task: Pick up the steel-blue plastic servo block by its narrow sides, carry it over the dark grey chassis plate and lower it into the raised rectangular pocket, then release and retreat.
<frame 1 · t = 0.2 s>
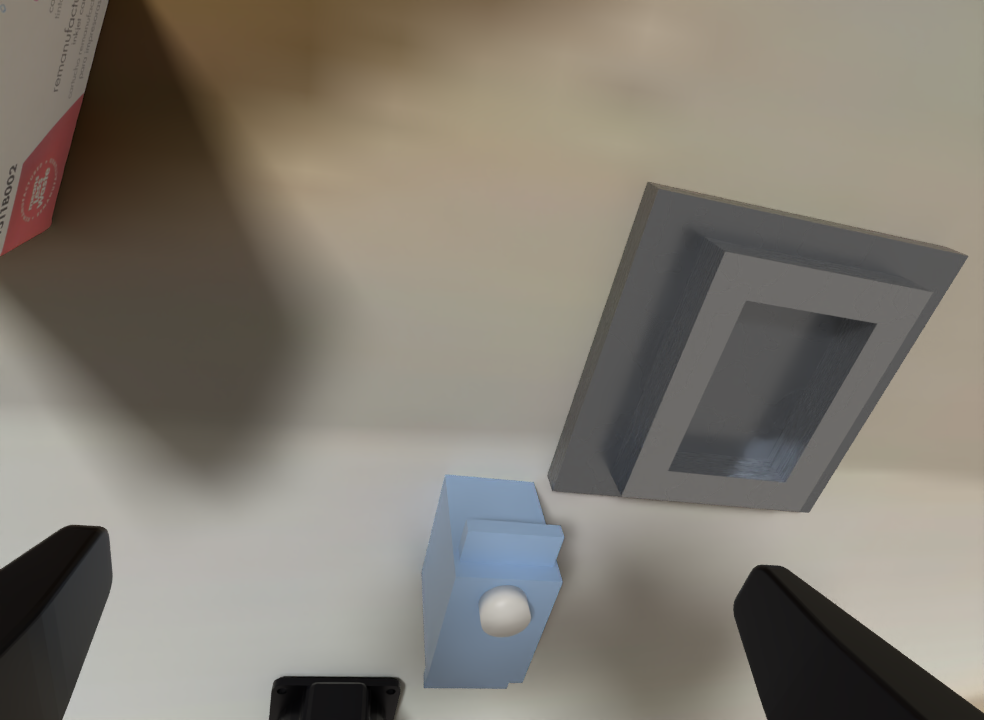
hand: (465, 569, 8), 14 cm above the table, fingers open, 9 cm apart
chassis: (735, 368, 25), on the table
servo: (475, 528, 27), on the table
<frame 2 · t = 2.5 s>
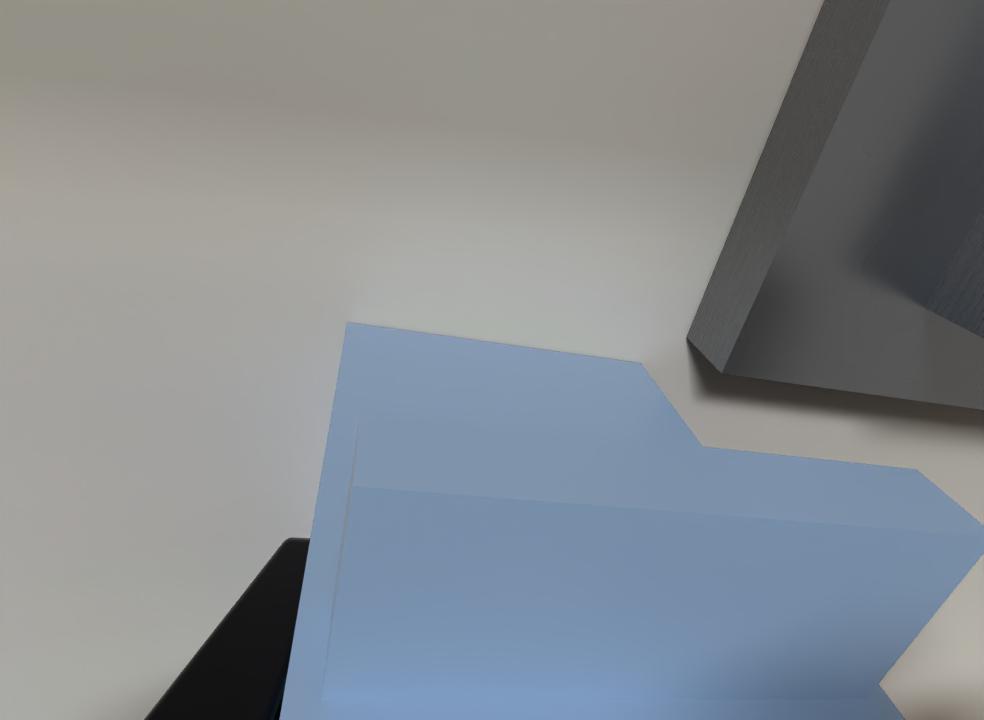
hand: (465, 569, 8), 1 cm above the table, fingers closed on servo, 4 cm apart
servo: (458, 516, 9), on the table, touching gripper
when the fingers open (3 cm above the table, at t = 6.5 s): servo drops 1 cm, resting on chassis.
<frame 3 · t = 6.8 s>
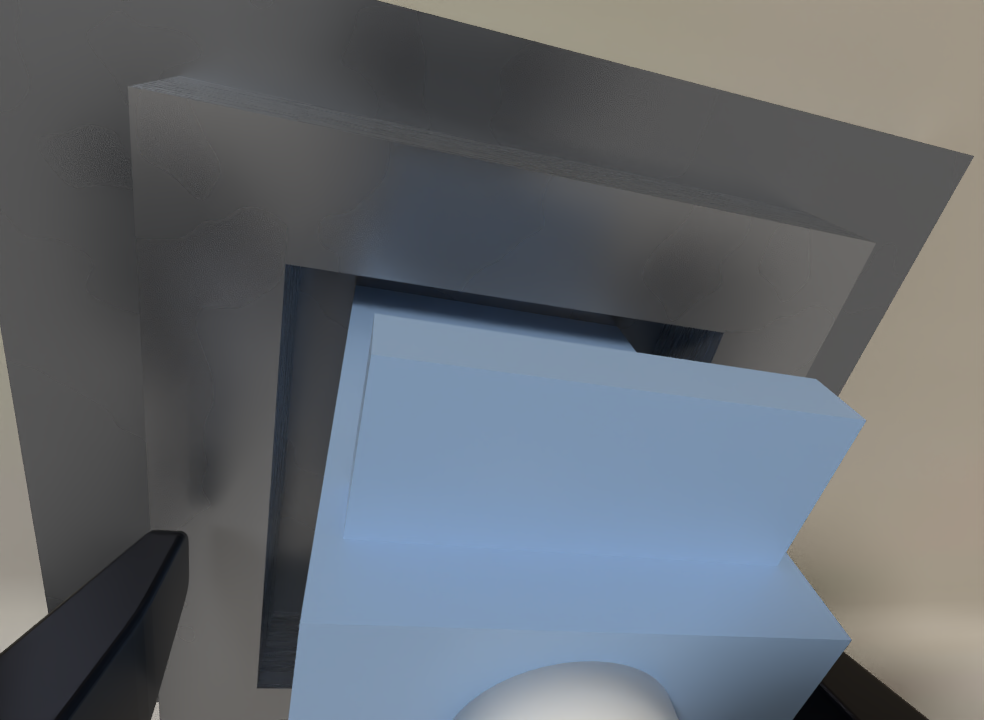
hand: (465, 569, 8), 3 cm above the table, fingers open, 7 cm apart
chassis: (449, 433, 11), on the table
servo: (453, 466, 10), point 1 cm above the table, touching chassis
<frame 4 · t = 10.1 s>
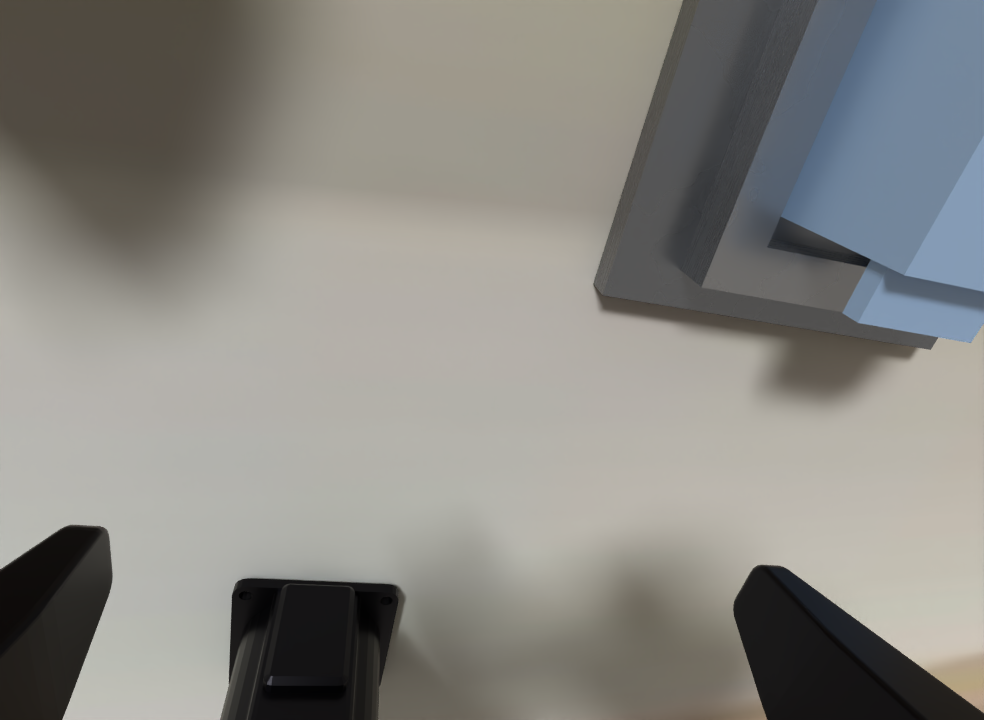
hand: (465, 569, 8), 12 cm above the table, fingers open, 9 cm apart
chassis: (851, 121, 18), on the table
servo: (874, 124, 17), point 1 cm above the table, touching chassis
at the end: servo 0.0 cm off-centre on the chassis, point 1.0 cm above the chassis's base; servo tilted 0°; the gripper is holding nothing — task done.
